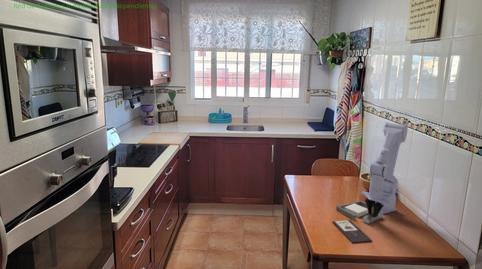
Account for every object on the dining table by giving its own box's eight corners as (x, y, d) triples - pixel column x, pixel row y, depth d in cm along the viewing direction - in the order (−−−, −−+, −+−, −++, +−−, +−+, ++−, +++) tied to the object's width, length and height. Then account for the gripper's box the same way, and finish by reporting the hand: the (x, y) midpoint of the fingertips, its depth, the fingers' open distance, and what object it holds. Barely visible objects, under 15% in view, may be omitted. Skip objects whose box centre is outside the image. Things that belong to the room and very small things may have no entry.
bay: (360, 204, 173) (360, 200, 172) (378, 213, 163) (379, 209, 162) (336, 209, 165) (336, 206, 165) (353, 219, 155) (354, 215, 155)
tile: (353, 208, 169) (354, 203, 168) (367, 213, 163) (368, 209, 162) (344, 211, 164) (344, 207, 164) (358, 217, 158) (358, 213, 157)
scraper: (376, 214, 161) (378, 201, 159) (382, 217, 158) (384, 203, 157) (362, 221, 153) (364, 207, 152) (368, 223, 151) (370, 209, 150)
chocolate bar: (352, 242, 134) (332, 221, 152) (352, 244, 135) (332, 223, 152) (372, 240, 136) (350, 220, 153) (371, 242, 136) (350, 222, 154)
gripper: (358, 184, 157) (355, 210, 160) (383, 195, 144) (379, 223, 147) (368, 181, 160) (365, 207, 163) (394, 192, 147) (390, 220, 150)
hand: (372, 215), depth 155 cm, fingers closed on scraper, 2 cm apart
